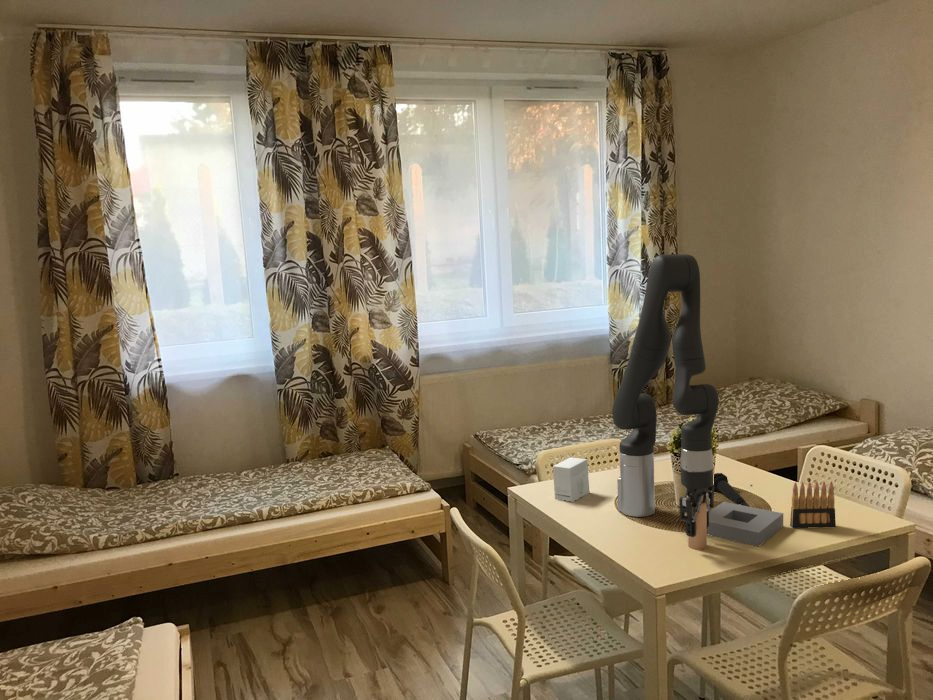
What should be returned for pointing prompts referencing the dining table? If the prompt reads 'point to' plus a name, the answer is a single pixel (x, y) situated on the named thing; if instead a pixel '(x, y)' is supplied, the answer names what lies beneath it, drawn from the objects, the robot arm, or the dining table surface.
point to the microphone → (727, 488)
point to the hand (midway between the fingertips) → (697, 531)
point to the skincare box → (571, 479)
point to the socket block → (743, 523)
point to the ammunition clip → (813, 507)
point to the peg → (700, 529)
